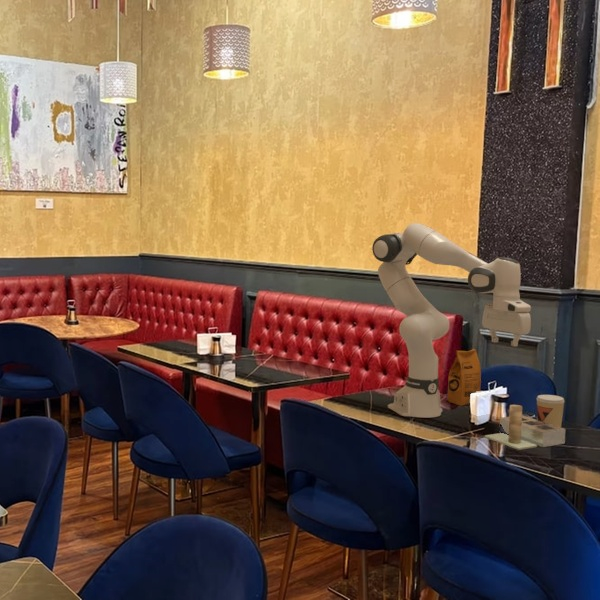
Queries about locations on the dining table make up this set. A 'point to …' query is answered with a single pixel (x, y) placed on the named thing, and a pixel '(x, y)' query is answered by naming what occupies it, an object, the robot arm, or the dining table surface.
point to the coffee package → (464, 377)
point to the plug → (515, 424)
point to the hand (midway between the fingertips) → (504, 344)
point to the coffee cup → (550, 409)
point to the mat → (503, 439)
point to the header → (537, 432)
